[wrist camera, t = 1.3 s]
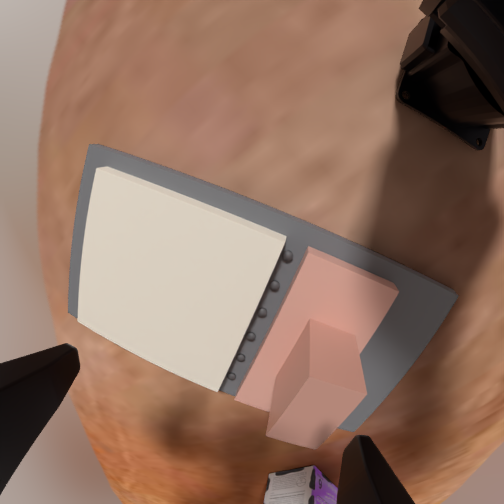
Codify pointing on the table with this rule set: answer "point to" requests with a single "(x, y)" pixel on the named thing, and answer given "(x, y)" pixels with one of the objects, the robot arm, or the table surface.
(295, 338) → the stub
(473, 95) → the robot arm
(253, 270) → the spiral notepad
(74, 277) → the mat
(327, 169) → the table surface
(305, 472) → the candy box
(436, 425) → the table surface
